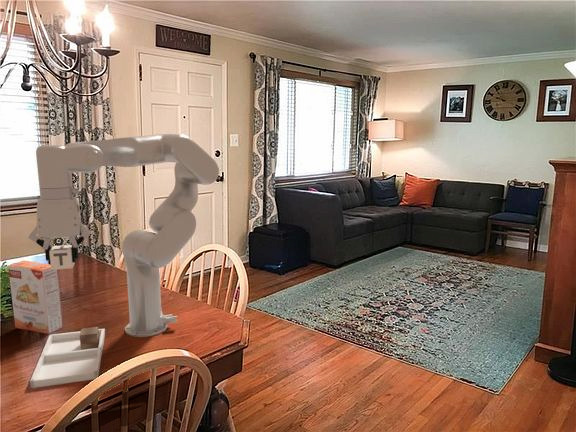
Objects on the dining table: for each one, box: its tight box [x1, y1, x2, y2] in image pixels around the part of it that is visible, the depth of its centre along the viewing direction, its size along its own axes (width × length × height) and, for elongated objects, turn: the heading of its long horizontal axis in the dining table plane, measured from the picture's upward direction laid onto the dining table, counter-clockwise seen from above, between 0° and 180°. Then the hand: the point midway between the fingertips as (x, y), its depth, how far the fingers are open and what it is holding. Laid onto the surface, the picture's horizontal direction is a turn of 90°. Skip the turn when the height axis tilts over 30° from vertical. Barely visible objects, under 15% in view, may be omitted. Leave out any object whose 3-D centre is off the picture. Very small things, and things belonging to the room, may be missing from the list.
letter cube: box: [49, 244, 75, 271], centre depth 121 cm, size 5×5×5 cm
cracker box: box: [7, 260, 64, 335], centre depth 142 cm, size 14×6×21 cm, turn 69°
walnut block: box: [80, 326, 100, 350], centre depth 132 cm, size 4×4×4 cm
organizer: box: [29, 328, 106, 389], centre depth 125 cm, size 15×26×2 cm, turn 18°
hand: (62, 261), depth 122 cm, fingers closed on letter cube, 4 cm apart
